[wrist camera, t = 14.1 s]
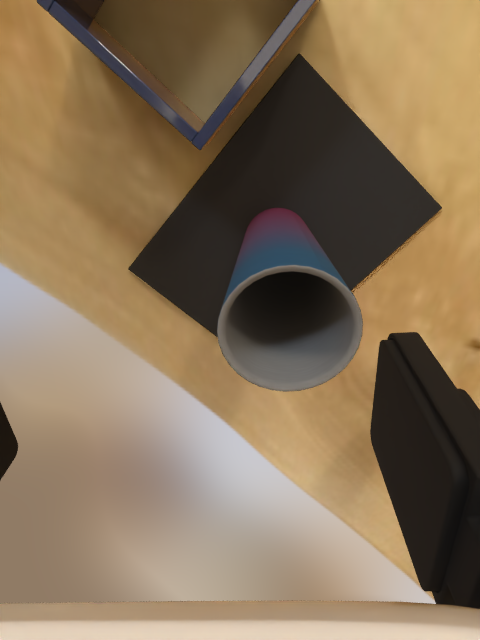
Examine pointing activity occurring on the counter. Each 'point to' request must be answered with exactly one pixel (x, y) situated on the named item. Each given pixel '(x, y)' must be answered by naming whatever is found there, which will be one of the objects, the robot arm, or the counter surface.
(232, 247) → the mat
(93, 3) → the holder
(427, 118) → the counter surface
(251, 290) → the cup
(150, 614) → the robot arm
